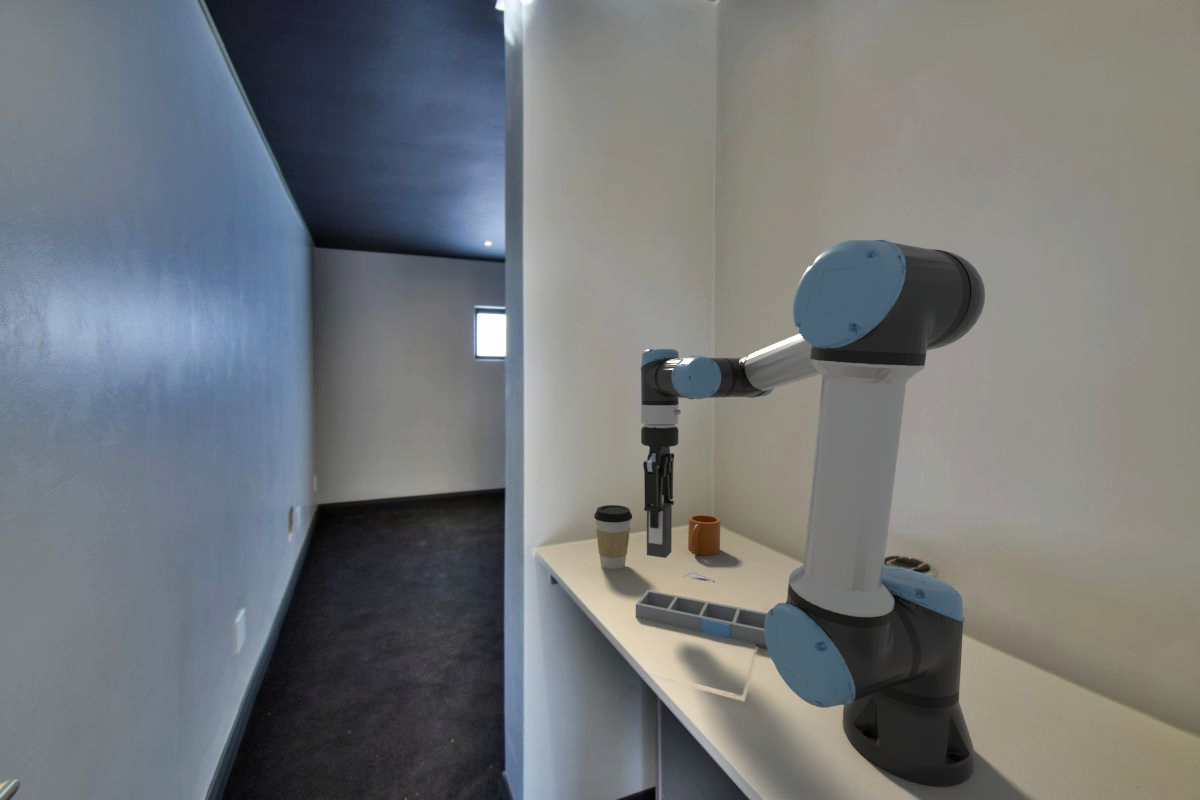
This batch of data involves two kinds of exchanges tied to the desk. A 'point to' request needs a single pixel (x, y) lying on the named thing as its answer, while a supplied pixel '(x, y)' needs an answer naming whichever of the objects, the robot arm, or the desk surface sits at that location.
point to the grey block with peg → (664, 548)
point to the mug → (704, 534)
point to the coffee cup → (613, 535)
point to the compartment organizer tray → (703, 616)
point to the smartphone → (697, 577)
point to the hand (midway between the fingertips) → (659, 539)
